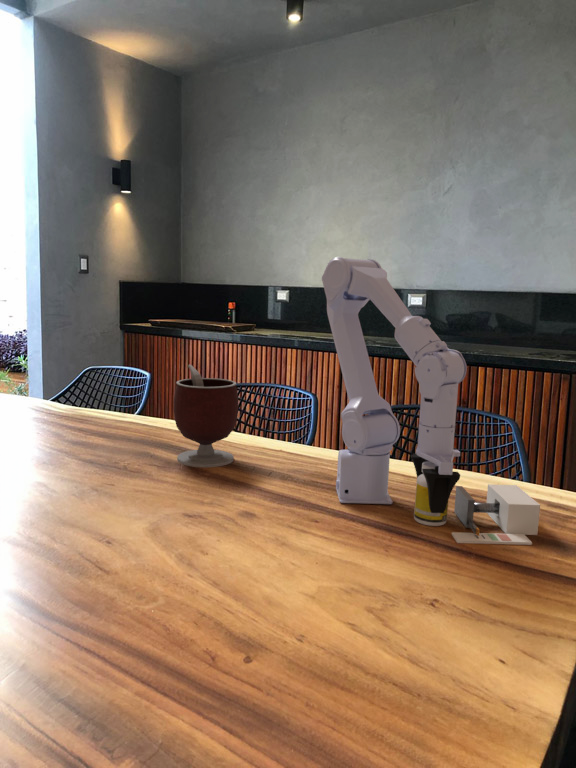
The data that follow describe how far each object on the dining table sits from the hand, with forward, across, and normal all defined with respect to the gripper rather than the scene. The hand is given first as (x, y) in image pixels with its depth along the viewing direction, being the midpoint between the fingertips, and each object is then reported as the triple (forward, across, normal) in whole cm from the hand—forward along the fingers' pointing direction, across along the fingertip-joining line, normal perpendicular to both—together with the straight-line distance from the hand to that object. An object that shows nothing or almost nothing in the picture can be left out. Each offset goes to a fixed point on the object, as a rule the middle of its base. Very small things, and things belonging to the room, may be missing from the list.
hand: (431, 504), depth 103 cm
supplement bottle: (+3, 0, 0) cm, 3 cm away
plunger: (+3, -2, -9) cm, 10 cm away
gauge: (+3, -2, -9) cm, 10 cm away
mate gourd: (+3, +34, +42) cm, 54 cm away
